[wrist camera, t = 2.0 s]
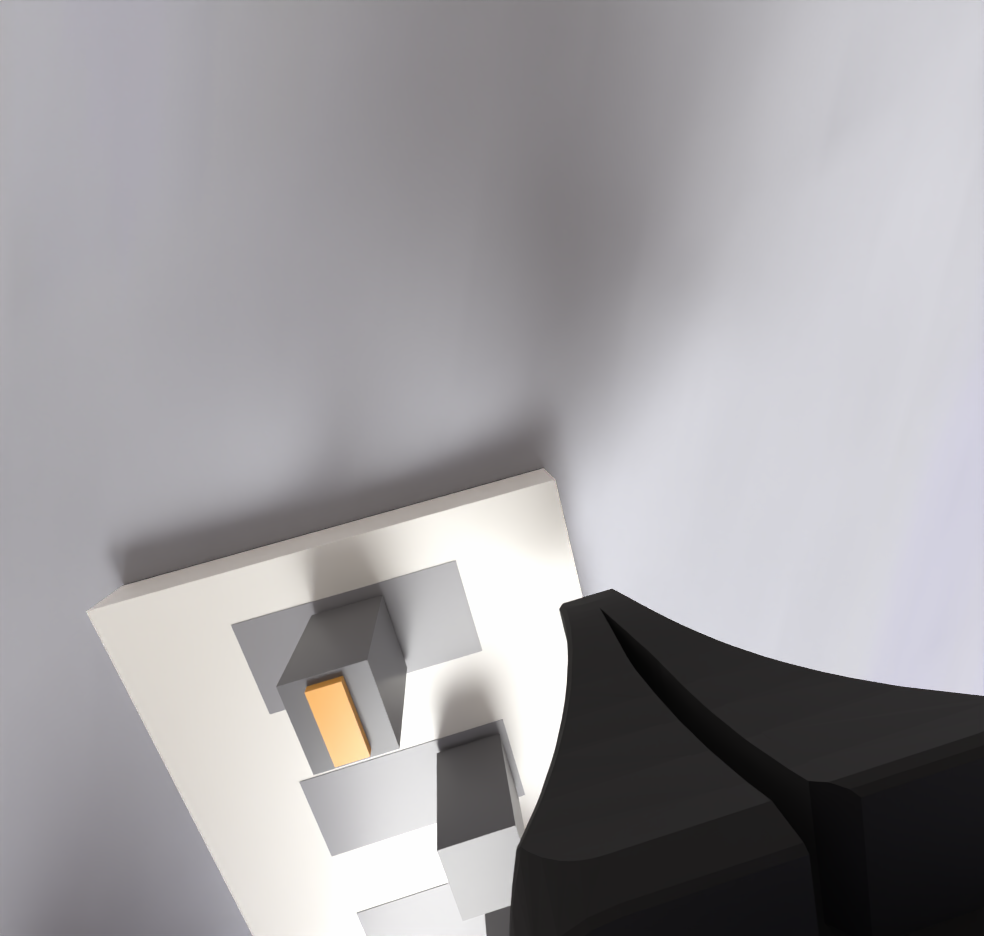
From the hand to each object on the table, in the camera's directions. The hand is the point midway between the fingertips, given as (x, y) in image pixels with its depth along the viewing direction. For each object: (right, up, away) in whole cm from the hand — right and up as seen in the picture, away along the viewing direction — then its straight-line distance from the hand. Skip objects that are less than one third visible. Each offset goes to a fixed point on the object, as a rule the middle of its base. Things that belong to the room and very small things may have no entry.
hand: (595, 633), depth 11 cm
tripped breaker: (-6, -1, +2) cm, 7 cm away
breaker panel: (-5, -6, +5) cm, 9 cm away
